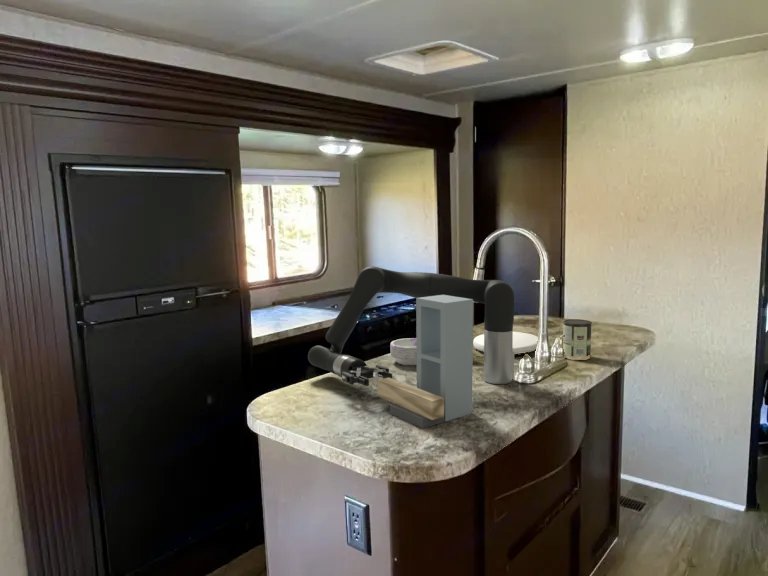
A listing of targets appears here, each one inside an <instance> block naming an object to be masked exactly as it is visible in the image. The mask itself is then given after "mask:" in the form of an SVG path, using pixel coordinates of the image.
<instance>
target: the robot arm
mask: <svg viewBox="0 0 768 576" xmlns="http://www.w3.org/2000/svg"><path fill="white" fill-rule="evenodd" d="M514 292H515V291H514V289H513V288H512V286H511V285H510V284H509V283H508V282H506V281H505V280H502V279H501V280H500V279H470V278H464V277H461V276H460V277H459V276H456V275H451V274H450V275H448V274H444V273H434V272H420V271H419V272H418V271H415V272H410V271H409V272H407V271H406V272H405V271H404V272H402V271H395V270H390V269H386V268H382V267H378V266H374V265H373V266H367V267H365V268H363V269H362V270H361V271H360V272H359V274H358V277H357V278H356V281H355V284H354V286H353V288H352V291H351V293H350V295H349V297H348V298H347V300H346V303H345V304H344V305H343V307H342V309H341V310H340V311H339V313H338V315H337V316H336V318H335V319H334V320H333V322H332V324H331V325H330V327H329V329H328V330H327V332H326V334H325V340H326V341H327V343H329V345H331V346H330V348H328V347H325V346H322V345H315V346H312V347H311V348H310V349H309V351H308V352H307V353H308V354H307V360H308V362H309V363H310V364H311V365H312V366H314V367H317V368H320V369H322V370H325V371H327V372H330V373H331V374H334V375H335V376H336V375H337V376H338V377H339V378H340V379H341V381H343V382H345V383H347V384H349V385H351V386H353V385H355V384H356V385H363V386H364V387H368V386H369V385H370V380H379V379H384V378H392V379H393V373H391V372H390V368H388V367H385V366H382V365H380V364H376V365H375V367H373V366H370V365H367V364H366V362H365V361H364V360H362V359H361V358H357V357H354V356H351V355H350V354H345V353H344V354H343V353H342V352H343V349H344V346H345V343H346V342H347V341H348V339H349V337H350V336H351V334H352V332H353V331H354V329H355V327H356V325H357V323H358V321H359V319H360V316H361V315H362V313H363V312H364V310H365V308H366V307H367V306H368V304H369V303H370V301H371V300H372V299H373V298H374V297H375V296H376V295H377V294H381V293H384V294H385V293H386V294H401V295H403V296H404V295H405V296H409V297H411V298H414V299H416V298H420V297H429V296H437V295H448V296H455V297H461V298H468V299H473V303H474V302H475V303H480V304H484V321H483V322H484V323H483V328H484V329H483V330H484V331H483V334H484V352H483V382H486V383H487V384H488V383H489V384H492V385H493V384H494V385H495V384H496V385H505V384H510V383H512V382H511V381H513V380H512V379H514V380H515V355H514V352H513V351H512V347H513V332H514V321H515V293H514ZM374 374H375V375H374Z"/></svg>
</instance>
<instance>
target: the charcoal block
mask: <svg viewBox="0 0 768 576" xmlns="http://www.w3.org/2000/svg"><path fill="white" fill-rule="evenodd" d="M390 414H391V415H392V416H395V417H397V418H398V419H400V420H404V421H405V422H407V423H410V424H412V425H415V426H417V427H419V428H421V429H425V428H428V427H431V426H435V425H437V424H438V425H439V424H441V423H444V422H445V421H444V417H441V418H437V419H434V420H431V419H429V418H427V417H424V416H422V415H420V414H417V413H415V412H413V411H410V410H408V409H406V408H404V407H401V406H399V405H397V404H394V403H392V404H389V415H390Z"/></svg>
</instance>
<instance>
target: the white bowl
mask: <svg viewBox="0 0 768 576" xmlns="http://www.w3.org/2000/svg"><path fill="white" fill-rule="evenodd" d="M389 347H390V356H391V357H392V358H394V359H395V361H396V362H397V363H398V364H400V365H401V364H402V366H408V365H411V366H412V365H413V366H417V350H416V337H415V338H414V337H411V338H410V337H409V338H408V337H407V338H399V339H396V340H392V341H391V342H390V346H389ZM411 366H410V367H411Z"/></svg>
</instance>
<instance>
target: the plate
mask: <svg viewBox="0 0 768 576" xmlns="http://www.w3.org/2000/svg"><path fill="white" fill-rule="evenodd" d="M538 337H539V336H537V335H535V334H531V333H527V332H520V331H513V347H512V351H513V352H514V353H519V352H528V353H531V352H535V351H536V350H535V348H536V345H537V341H538ZM473 338H474V339H473V349H476V350H478V351H480V352H483V353H484V333H482V334H479V335H477V336H476V337H473Z"/></svg>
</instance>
